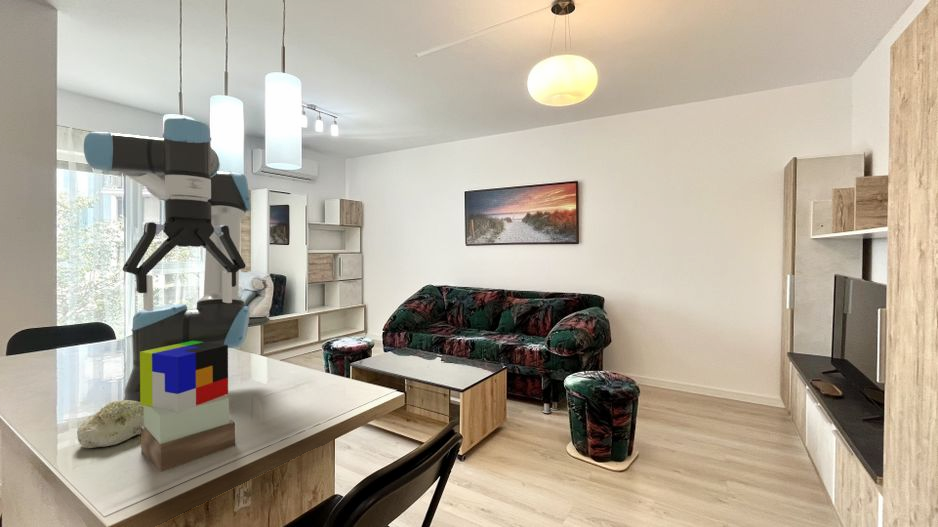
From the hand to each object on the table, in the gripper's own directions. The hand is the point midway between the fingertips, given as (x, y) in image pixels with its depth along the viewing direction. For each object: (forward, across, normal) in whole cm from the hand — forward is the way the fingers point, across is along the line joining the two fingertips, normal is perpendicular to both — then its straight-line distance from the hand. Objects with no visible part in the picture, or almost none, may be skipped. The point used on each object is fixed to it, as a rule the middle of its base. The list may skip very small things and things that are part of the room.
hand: (190, 306), depth 80 cm
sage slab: (+23, -2, -3) cm, 23 cm away
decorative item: (+28, -9, +13) cm, 32 cm away
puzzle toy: (+18, -2, -3) cm, 18 cm away
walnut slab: (+28, -2, -3) cm, 28 cm away
